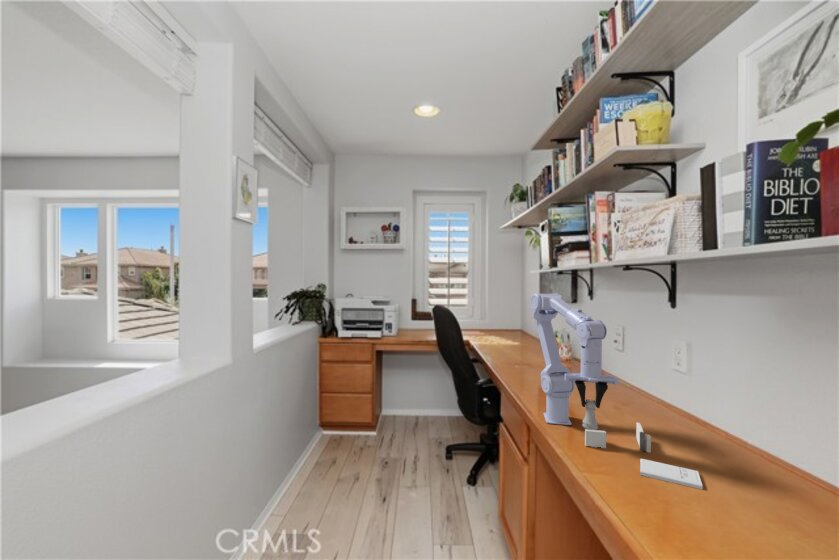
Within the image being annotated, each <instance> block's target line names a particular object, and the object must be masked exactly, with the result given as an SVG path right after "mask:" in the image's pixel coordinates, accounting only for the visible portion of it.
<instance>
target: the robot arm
mask: <svg viewBox="0 0 839 560" xmlns="http://www.w3.org/2000/svg"><path fill="white" fill-rule="evenodd" d="M530 297H531V298H530V300H529V306H530V310H531V315H532V318H533V319H534V320H535V324H536V329H537V334H538V338H539V341H540V346H541V351H542V355H543V359H544V363H545V367H544V368H543V369H542V371H541V372H540V384H541V385H540V386H541V390H542V391H543V392H544V394H545V397H546V399H545V400H546V401H545V403H546V406H545V408H546V410H545V411H546V412H543V416H544V420H545V422H546V424H550V425H551V424H552V425H554V424H555V425H565V426H571V425H572V422H571V420H570V417H569V415H570V412H569V410H570V396H572V393H573V392H574V390H575V388H576V389H577V391H578V394H579V397H580V403H581V404H580V405H581V406H582V407H583V408H586V404H585V402H586V389H587V388H586V383H592V384H593V383H594V384H595V403H596V406H595V407H596V408H597V409H600V408H601V403H602V400H603V398H604V396H605V393H607V390H608V389H609V386H608V384H610V385H616V386H619V377H617V376H611V375H604V374H603V375H602V366H603V365H602V361H603V360H602V357H603V356H602V355H603V354H602V352H603V350H602V349H603V340H604V339H605V338H606V336H607V326H606V324H605V323H604V322H603V321H602V320H599V319H596V320H594V319H593V318H592V317H591V316H589V315H587V314H586V313H584V312H583V310H582V308H572V307H571V306H570V305H569V304H568V303H567V302H566V301H565V300H564V297H563V296H562V295H560V293H558V292H555V293H537V292H535V293H533V294H532V295H531V296H530ZM558 314H559V315H561V316H563V317H564V320H565V322H566V324H568V325H569V326H570V327H571V328H572V329H574V330H575V332H576V335H577V337H578V344H579V346H580V373H578V372H577V373H571V370H570V369H569V368H568V367H567V366H565V365H564V364H563V362H562V360H561V356H560V353H559V348H558V344H557V340H556V336H555V331H554V329H553V326H552V320H553V319H555V318H556V317H557V316H558Z"/></svg>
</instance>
